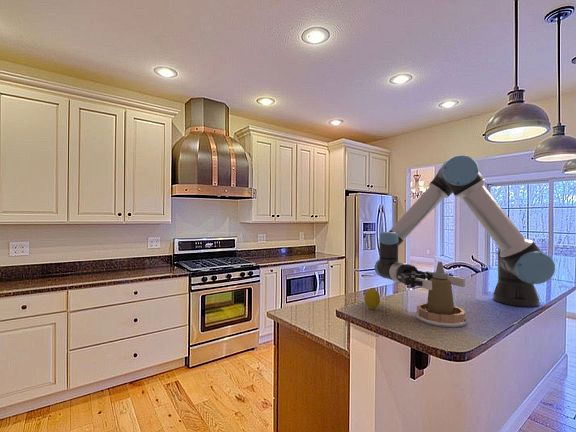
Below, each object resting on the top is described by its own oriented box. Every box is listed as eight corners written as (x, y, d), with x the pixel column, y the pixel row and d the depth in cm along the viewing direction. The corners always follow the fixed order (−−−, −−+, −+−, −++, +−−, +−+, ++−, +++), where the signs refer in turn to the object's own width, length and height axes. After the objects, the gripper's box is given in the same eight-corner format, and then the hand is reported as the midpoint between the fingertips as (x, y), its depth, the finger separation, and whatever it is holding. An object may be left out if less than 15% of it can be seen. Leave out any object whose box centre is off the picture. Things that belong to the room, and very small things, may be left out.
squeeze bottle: (429, 318, 99) (429, 263, 100) (424, 311, 107) (424, 259, 107) (457, 321, 97) (457, 263, 98) (450, 313, 105) (450, 260, 105)
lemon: (369, 312, 110) (369, 290, 110) (361, 308, 116) (361, 286, 116) (383, 311, 112) (382, 289, 112) (374, 307, 117) (374, 285, 117)
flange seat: (440, 311, 112) (440, 301, 112) (477, 324, 97) (477, 313, 97) (406, 315, 107) (406, 304, 107) (439, 329, 93) (439, 317, 93)
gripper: (430, 281, 123) (477, 293, 103) (376, 285, 116) (416, 298, 95) (430, 262, 123) (477, 270, 103) (376, 265, 116) (416, 274, 95)
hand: (448, 284), depth 99 cm, fingers open, 13 cm apart
